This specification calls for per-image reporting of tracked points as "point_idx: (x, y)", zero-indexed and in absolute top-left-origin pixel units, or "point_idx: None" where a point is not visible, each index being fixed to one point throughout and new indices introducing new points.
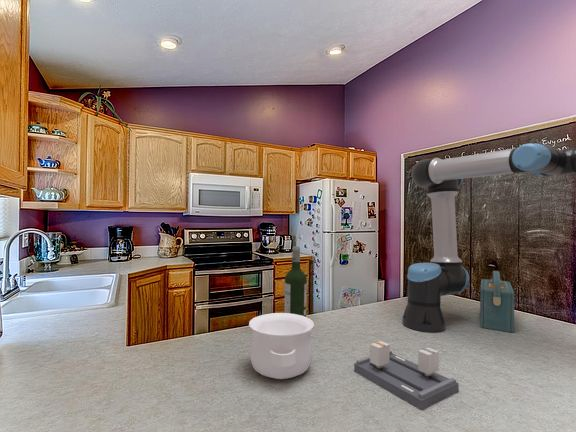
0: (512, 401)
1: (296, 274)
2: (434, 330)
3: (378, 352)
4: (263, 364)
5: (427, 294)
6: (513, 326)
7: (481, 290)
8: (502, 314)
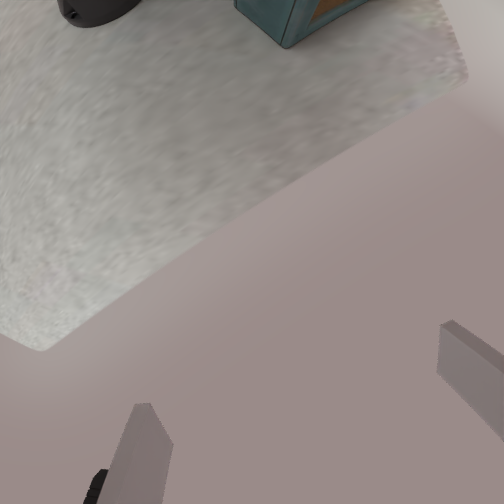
0: (17, 297)
1: None
2: (88, 25)
3: None
4: None
5: None
6: (288, 42)
7: None
8: (271, 11)
